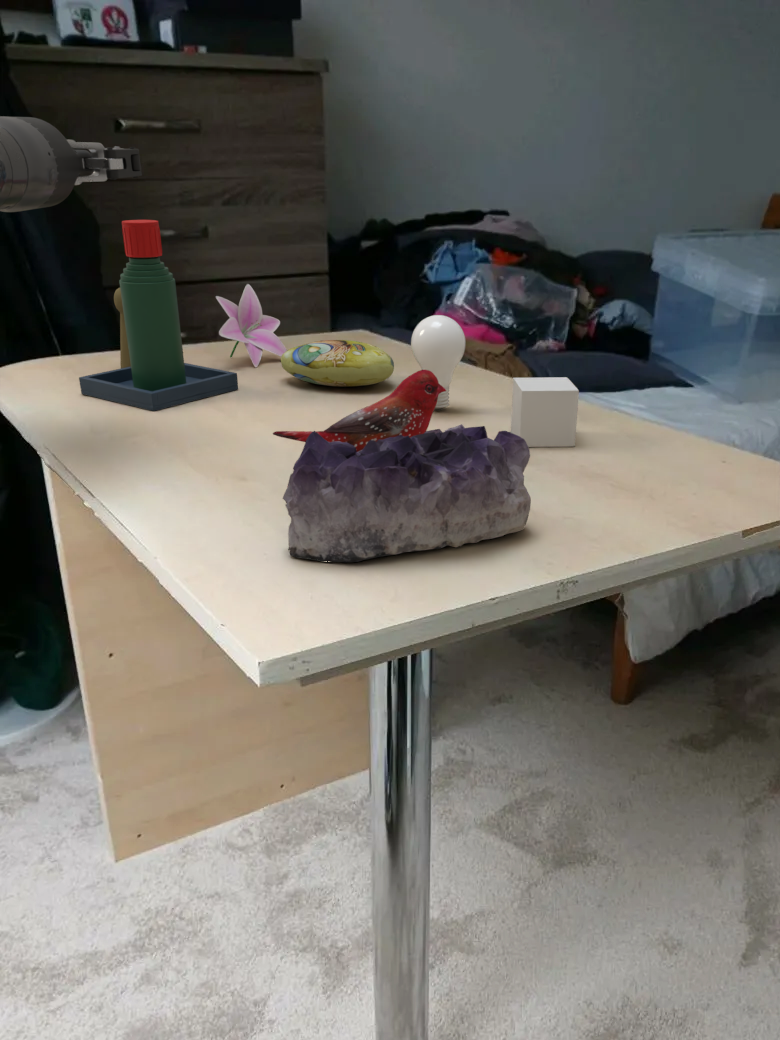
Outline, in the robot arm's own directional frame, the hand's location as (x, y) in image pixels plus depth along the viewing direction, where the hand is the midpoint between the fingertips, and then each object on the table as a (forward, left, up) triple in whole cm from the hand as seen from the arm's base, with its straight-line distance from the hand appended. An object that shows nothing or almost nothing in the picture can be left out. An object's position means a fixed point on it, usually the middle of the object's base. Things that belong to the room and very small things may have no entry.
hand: (90, 159), depth 97 cm
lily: (+30, +10, -27) cm, 41 cm away
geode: (-10, -49, -27) cm, 57 cm away
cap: (+9, +5, -11) cm, 15 cm away
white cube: (+21, -43, -27) cm, 55 cm away
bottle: (+9, +5, -26) cm, 28 cm away
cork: (+17, +18, -27) cm, 36 cm away
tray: (+10, +6, -27) cm, 29 cm away
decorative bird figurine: (-2, -37, -27) cm, 46 cm away
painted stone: (+27, -9, -27) cm, 39 cm away
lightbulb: (+24, -27, -27) cm, 45 cm away
